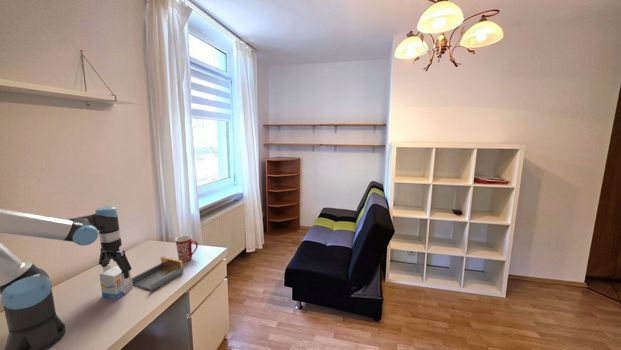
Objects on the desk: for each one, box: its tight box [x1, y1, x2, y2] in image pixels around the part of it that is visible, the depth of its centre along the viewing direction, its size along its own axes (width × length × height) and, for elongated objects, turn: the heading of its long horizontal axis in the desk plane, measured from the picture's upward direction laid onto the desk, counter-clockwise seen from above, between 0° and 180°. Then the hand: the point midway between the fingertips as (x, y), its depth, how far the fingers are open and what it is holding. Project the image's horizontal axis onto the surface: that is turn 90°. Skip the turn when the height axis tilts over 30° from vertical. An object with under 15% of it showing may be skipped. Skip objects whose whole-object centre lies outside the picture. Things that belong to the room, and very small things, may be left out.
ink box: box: [99, 265, 133, 300], centre depth 120 cm, size 9×8×12 cm
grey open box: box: [131, 256, 184, 292], centre depth 133 cm, size 18×15×7 cm
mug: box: [174, 234, 199, 263], centre depth 154 cm, size 13×9×14 cm
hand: (117, 281), depth 121 cm, fingers open, 13 cm apart
